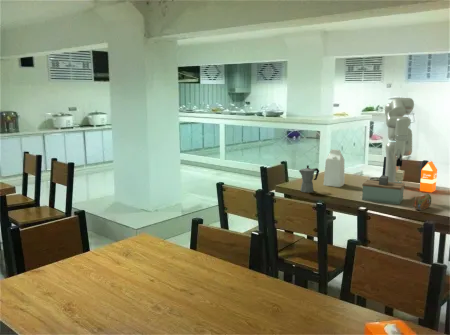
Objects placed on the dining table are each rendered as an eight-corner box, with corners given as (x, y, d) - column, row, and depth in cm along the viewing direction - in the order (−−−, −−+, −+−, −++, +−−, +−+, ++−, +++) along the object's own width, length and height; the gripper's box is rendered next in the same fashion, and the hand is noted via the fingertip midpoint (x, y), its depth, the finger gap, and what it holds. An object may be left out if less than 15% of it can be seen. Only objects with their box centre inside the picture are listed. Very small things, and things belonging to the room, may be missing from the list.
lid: (367, 181, 275) (367, 173, 274) (404, 185, 263) (404, 176, 262) (362, 185, 263) (362, 177, 262) (400, 190, 252) (401, 180, 251)
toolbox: (368, 193, 280) (369, 178, 278) (403, 197, 269) (404, 182, 267) (362, 199, 265) (362, 184, 263) (399, 204, 254) (400, 188, 252)
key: (397, 178, 277) (398, 170, 276) (403, 178, 275) (404, 170, 274) (395, 180, 271) (395, 172, 270) (401, 181, 269) (402, 172, 268)
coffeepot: (301, 193, 282) (302, 167, 278) (295, 190, 291) (295, 164, 287) (321, 191, 286) (322, 165, 283) (315, 188, 295) (315, 163, 292)
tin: (417, 211, 239) (418, 197, 237) (412, 210, 241) (413, 196, 240) (431, 207, 247) (432, 193, 246) (426, 206, 250) (427, 192, 248)
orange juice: (435, 190, 288) (438, 161, 284) (431, 192, 282) (434, 163, 278) (423, 188, 293) (426, 160, 289) (419, 190, 287) (421, 162, 283)
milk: (344, 184, 308) (346, 149, 303) (339, 187, 299) (341, 151, 294) (328, 182, 315) (330, 148, 310) (323, 185, 305) (324, 150, 300)
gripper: (396, 135, 271) (394, 163, 275) (392, 138, 258) (390, 167, 262) (409, 136, 267) (407, 164, 271) (405, 139, 255) (403, 169, 259)
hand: (398, 166), depth 267 cm, fingers closed
